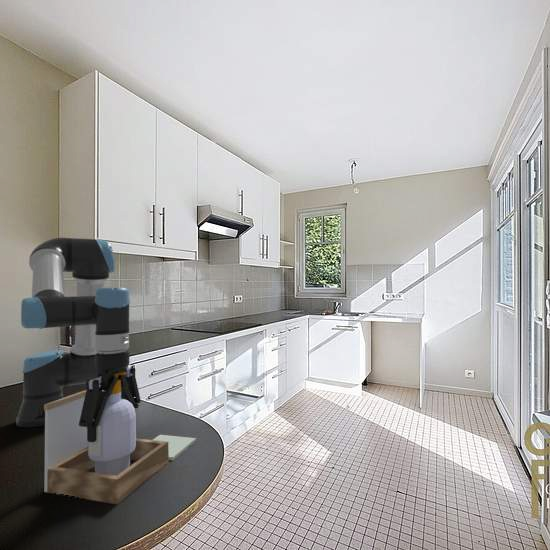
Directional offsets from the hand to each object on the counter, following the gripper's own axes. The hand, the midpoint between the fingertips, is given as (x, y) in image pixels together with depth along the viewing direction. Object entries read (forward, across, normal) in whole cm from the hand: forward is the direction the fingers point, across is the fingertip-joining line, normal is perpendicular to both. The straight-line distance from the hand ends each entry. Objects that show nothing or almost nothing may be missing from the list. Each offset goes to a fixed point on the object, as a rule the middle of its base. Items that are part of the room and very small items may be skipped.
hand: (112, 444), depth 83 cm
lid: (+7, 0, +10) cm, 12 cm away
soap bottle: (+7, 0, 0) cm, 7 cm away
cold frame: (+7, 0, 0) cm, 7 cm away
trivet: (+7, +16, -4) cm, 18 cm away
